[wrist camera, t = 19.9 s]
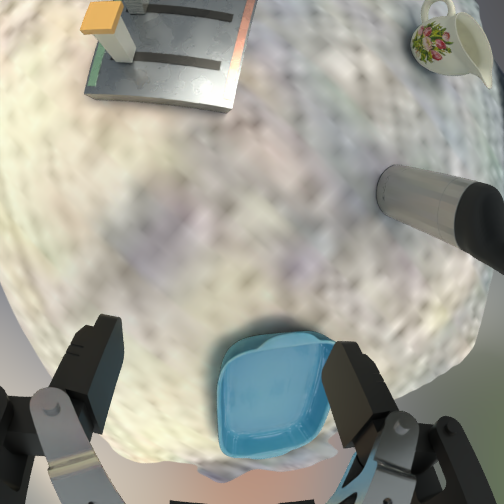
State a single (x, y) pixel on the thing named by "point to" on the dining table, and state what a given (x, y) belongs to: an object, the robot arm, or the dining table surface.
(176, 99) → the switch panel
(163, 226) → the dining table surface
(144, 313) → the dining table surface
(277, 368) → the casserole dish
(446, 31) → the pitcher
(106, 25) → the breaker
